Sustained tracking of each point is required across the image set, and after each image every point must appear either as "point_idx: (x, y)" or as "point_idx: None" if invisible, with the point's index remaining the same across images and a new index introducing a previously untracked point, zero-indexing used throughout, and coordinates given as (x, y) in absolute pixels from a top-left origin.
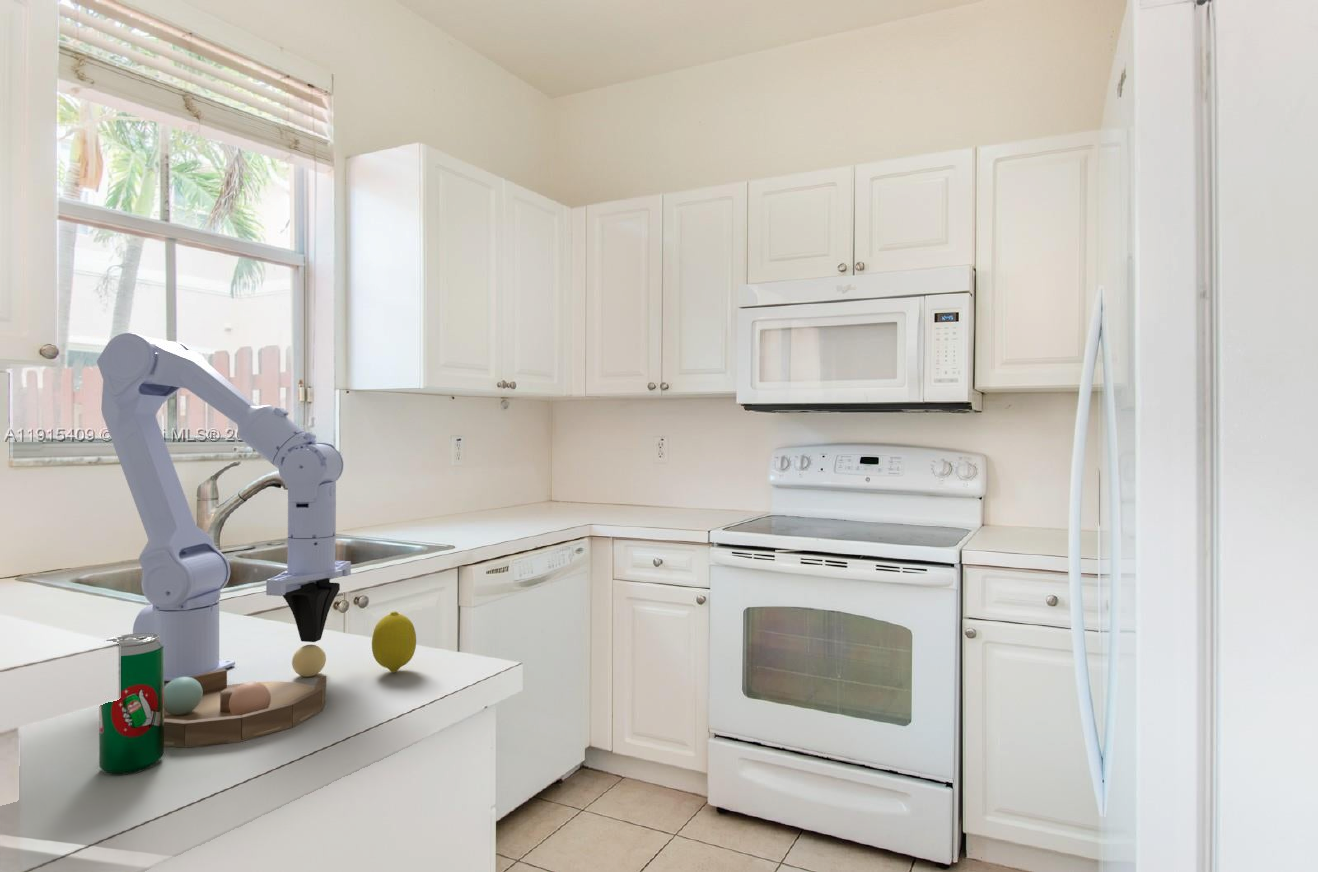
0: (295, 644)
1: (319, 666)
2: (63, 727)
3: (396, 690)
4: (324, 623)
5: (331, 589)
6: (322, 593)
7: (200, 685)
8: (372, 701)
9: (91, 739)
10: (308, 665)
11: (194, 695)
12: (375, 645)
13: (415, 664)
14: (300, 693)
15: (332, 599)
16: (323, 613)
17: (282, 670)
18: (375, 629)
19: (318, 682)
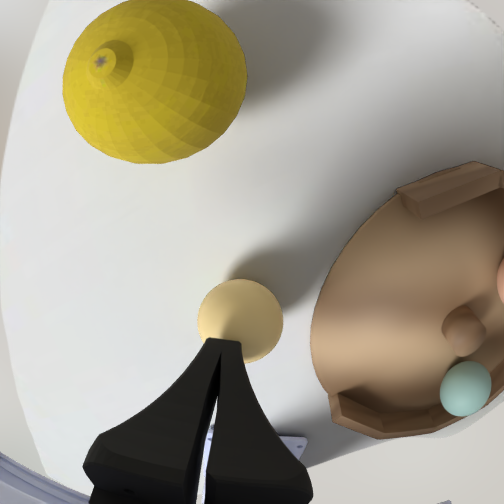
0: (72, 388)
1: (256, 283)
2: (438, 436)
3: (344, 28)
4: (197, 364)
5: (183, 470)
6: (274, 475)
7: (469, 384)
8: (424, 66)
9: None
10: (279, 305)
11: (483, 370)
12: (231, 120)
13: None
14: (400, 248)
15: (149, 420)
16: (205, 395)
17: None
18: (189, 136)
19: (462, 199)
